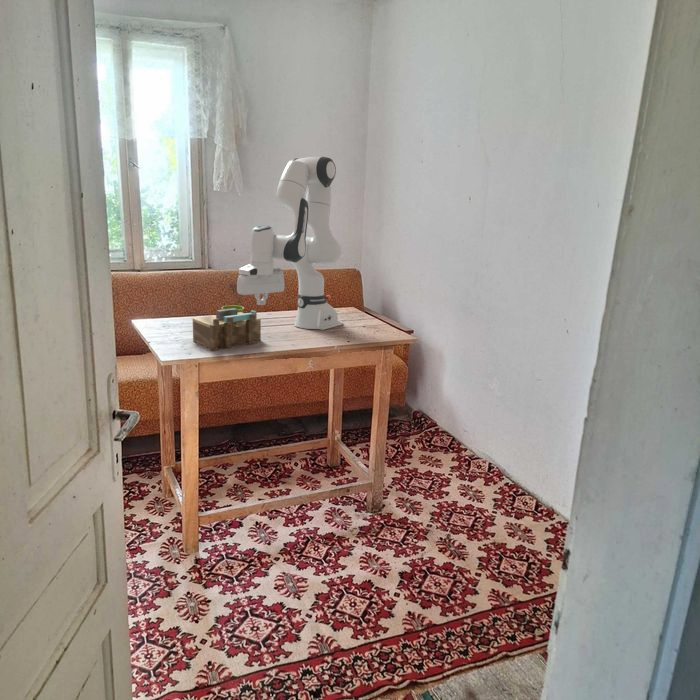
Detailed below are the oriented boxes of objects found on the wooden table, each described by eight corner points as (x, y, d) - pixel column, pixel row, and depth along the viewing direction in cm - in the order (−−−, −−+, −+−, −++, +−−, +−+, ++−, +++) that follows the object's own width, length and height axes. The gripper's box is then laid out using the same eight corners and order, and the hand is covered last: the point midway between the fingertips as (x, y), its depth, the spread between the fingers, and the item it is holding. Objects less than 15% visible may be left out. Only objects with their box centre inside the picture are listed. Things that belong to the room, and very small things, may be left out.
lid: (241, 316, 247) (240, 303, 245) (265, 324, 235) (265, 311, 234) (192, 323, 232) (192, 309, 231) (215, 332, 220) (215, 318, 219)
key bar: (253, 317, 234) (253, 310, 233) (256, 318, 232) (256, 311, 231) (223, 321, 225) (223, 314, 224) (226, 322, 223) (226, 315, 222)
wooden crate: (241, 333, 249) (240, 304, 245) (266, 342, 236) (266, 312, 233) (190, 341, 233) (189, 310, 230) (214, 351, 221) (214, 319, 218)
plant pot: (244, 329, 255) (244, 309, 253) (221, 329, 253) (221, 309, 251) (243, 324, 264) (243, 305, 261) (221, 324, 262) (221, 305, 260)
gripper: (278, 267, 239) (278, 301, 242) (234, 269, 225) (234, 305, 229) (288, 268, 234) (287, 303, 238) (243, 271, 221) (243, 308, 224)
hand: (261, 304), depth 233 cm, fingers closed
